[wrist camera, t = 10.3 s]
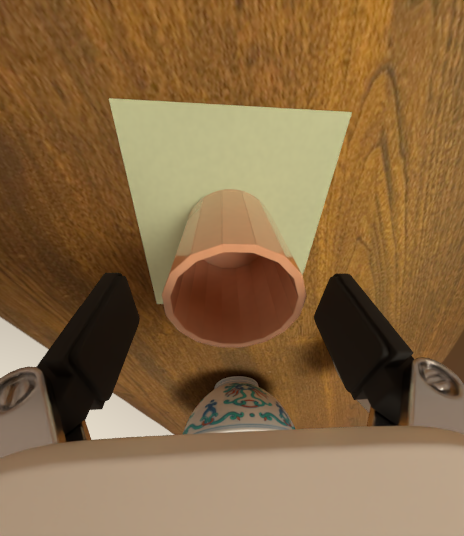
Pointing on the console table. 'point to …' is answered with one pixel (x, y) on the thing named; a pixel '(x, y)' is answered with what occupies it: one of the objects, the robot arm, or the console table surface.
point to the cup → (232, 274)
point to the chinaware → (237, 409)
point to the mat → (225, 167)
